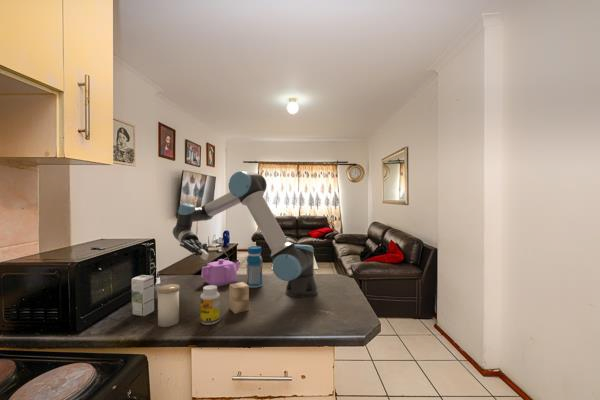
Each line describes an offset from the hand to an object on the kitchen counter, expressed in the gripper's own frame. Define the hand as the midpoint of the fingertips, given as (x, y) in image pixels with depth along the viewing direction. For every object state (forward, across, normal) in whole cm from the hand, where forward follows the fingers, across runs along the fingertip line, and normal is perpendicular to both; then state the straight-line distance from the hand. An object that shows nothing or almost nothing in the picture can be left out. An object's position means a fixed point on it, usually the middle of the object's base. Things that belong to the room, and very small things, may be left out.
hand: (206, 257), depth 118 cm
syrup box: (-3, +17, -26) cm, 32 cm away
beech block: (+17, -12, -15) cm, 26 cm away
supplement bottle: (+21, +1, -18) cm, 27 cm away
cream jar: (+12, +12, -22) cm, 28 cm away
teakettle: (-21, -24, -20) cm, 38 cm away
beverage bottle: (-4, -33, -14) cm, 36 cm away
